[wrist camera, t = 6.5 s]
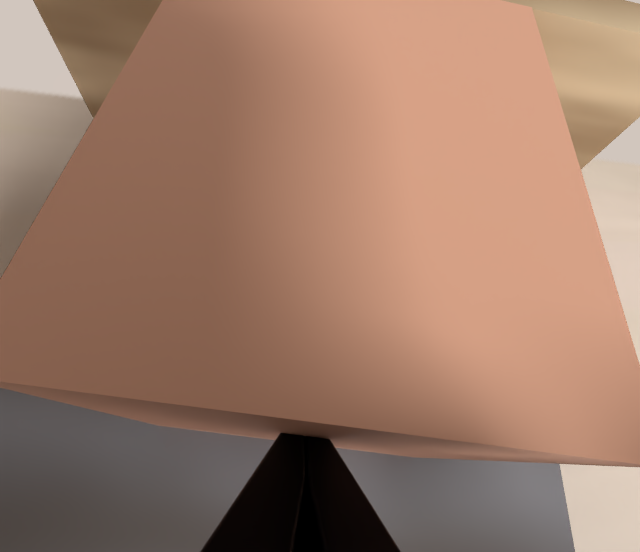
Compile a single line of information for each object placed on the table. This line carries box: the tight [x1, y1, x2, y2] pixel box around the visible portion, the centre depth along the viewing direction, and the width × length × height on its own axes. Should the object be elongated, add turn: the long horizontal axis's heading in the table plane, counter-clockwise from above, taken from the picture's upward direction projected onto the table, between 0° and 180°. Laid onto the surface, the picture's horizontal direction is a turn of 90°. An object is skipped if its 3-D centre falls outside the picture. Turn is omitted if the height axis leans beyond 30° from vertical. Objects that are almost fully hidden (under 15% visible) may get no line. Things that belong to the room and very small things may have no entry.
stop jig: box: [0, 0, 640, 552], centre depth 10 cm, size 17×18×10 cm
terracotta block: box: [0, 0, 640, 467], centre depth 10 cm, size 10×8×8 cm
